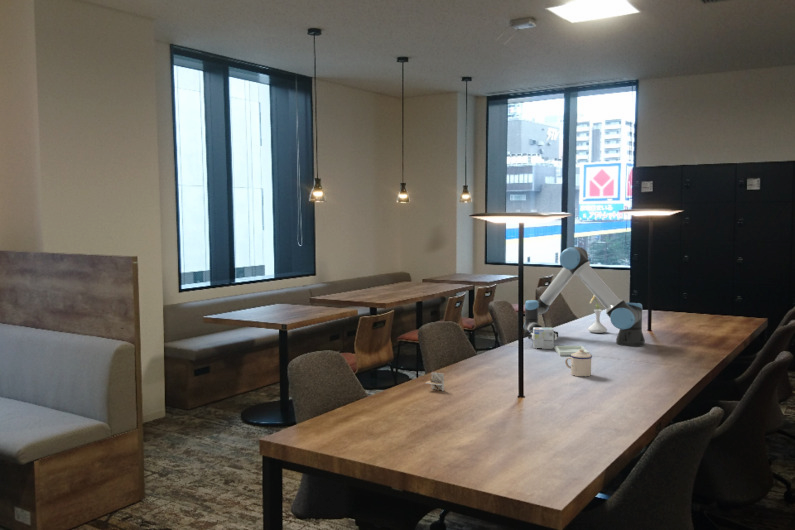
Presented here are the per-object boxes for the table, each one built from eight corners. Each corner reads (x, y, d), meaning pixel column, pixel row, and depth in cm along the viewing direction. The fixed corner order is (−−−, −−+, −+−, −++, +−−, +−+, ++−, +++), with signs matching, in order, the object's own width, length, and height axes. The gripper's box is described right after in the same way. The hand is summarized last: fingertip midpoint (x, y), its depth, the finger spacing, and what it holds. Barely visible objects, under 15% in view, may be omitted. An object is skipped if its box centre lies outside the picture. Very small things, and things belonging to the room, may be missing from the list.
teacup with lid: (594, 374, 306) (595, 348, 306) (587, 378, 299) (587, 352, 298) (569, 370, 314) (569, 345, 313) (561, 374, 306) (561, 349, 305)
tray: (582, 349, 363) (582, 345, 362) (588, 356, 346) (589, 352, 346) (554, 349, 363) (554, 345, 363) (559, 355, 347) (559, 351, 347)
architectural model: (440, 393, 277) (440, 375, 277) (425, 391, 280) (425, 373, 280) (444, 391, 280) (444, 373, 280) (428, 389, 283) (428, 371, 283)
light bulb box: (552, 346, 371) (552, 327, 370) (553, 349, 365) (554, 329, 364) (532, 346, 372) (532, 326, 372) (533, 348, 366) (533, 328, 365)
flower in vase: (591, 330, 424) (592, 290, 422) (609, 332, 417) (610, 291, 415) (584, 333, 413) (584, 292, 411) (602, 335, 406) (603, 293, 404)
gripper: (556, 336, 386) (566, 343, 365) (514, 337, 386) (523, 344, 364) (556, 323, 386) (566, 329, 364) (514, 323, 385) (523, 330, 363)
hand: (544, 337), depth 364 cm, fingers closed on light bulb box, 11 cm apart
